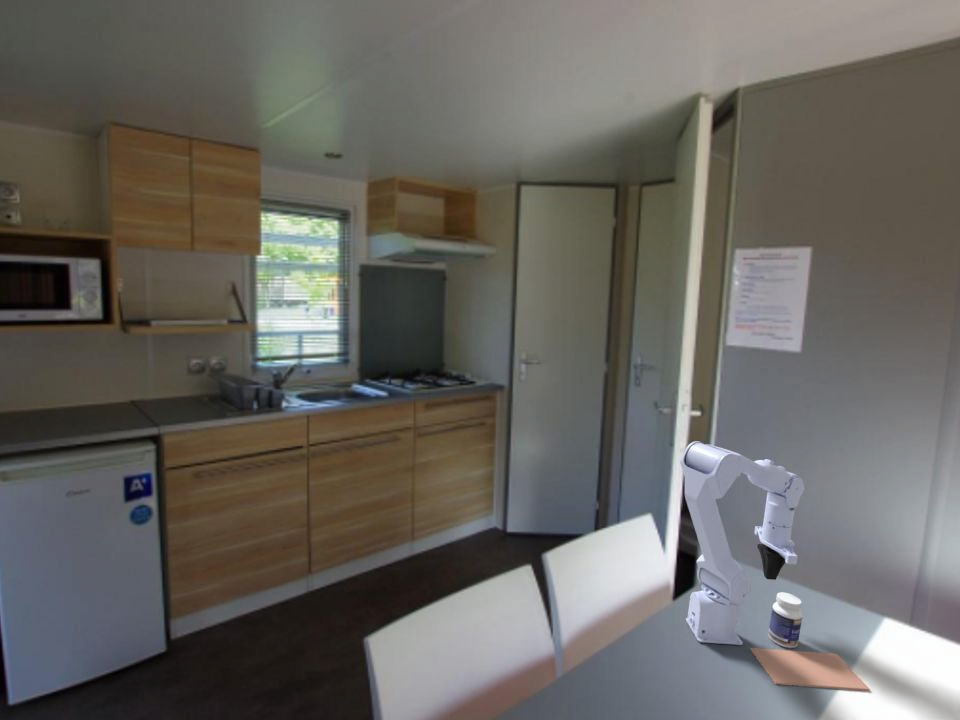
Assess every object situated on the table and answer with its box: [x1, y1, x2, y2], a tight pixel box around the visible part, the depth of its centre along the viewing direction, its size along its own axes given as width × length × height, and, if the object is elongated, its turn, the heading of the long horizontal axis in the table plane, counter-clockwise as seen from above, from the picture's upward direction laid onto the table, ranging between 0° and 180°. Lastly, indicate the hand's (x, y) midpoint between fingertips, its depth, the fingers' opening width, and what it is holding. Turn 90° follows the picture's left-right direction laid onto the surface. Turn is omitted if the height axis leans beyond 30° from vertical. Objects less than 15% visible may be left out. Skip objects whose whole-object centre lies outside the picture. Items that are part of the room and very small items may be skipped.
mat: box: [749, 647, 871, 692], centre depth 107 cm, size 18×10×1 cm, turn 89°
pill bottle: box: [768, 591, 803, 649], centre depth 116 cm, size 6×6×10 cm
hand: (769, 577), depth 123 cm, fingers closed
